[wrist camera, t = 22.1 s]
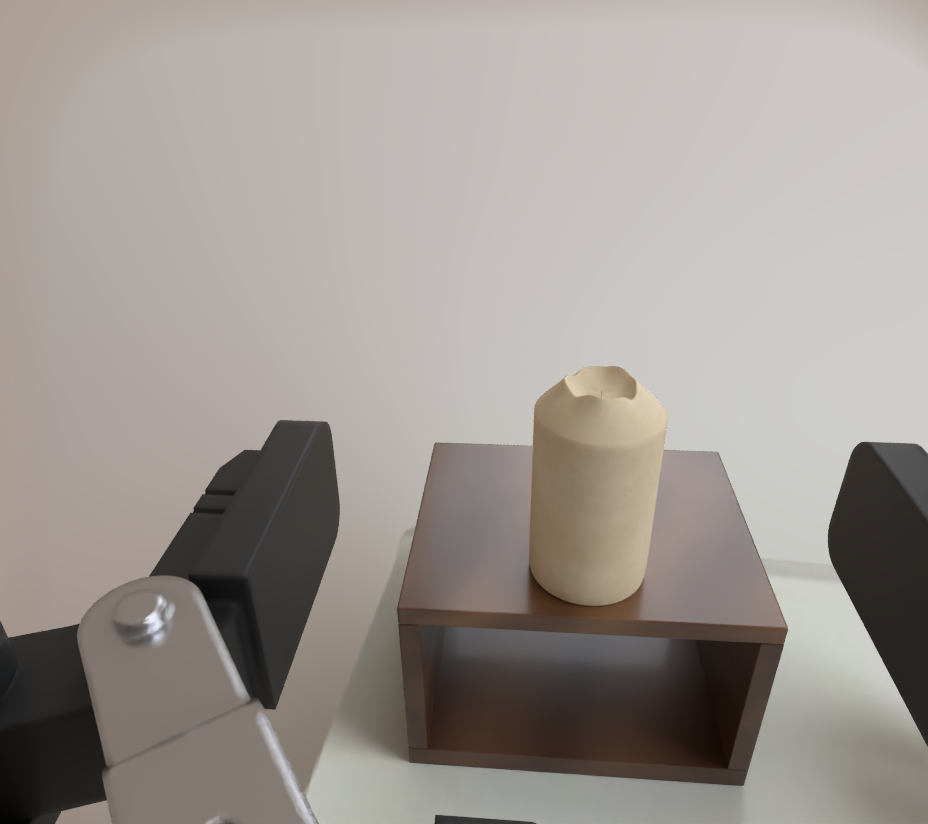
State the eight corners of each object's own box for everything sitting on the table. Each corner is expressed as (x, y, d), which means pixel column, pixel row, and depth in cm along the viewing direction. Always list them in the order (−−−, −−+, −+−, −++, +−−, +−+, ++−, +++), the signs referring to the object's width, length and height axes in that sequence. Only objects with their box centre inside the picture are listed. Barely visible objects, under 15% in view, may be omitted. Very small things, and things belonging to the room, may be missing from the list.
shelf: (409, 762, 38) (396, 608, 33) (440, 577, 50) (434, 441, 45) (743, 786, 37) (789, 629, 31) (692, 589, 49) (718, 451, 43)
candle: (641, 618, 32) (670, 421, 27) (518, 595, 33) (523, 403, 28) (648, 538, 36) (674, 358, 31) (539, 521, 38) (547, 345, 33)
